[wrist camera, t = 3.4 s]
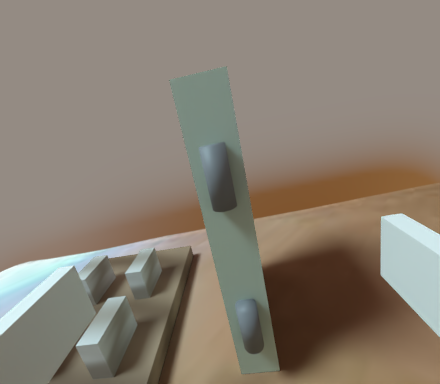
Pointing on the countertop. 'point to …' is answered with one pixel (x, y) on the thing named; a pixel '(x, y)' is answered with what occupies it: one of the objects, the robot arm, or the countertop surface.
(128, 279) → the hinge base
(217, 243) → the door
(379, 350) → the countertop surface
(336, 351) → the countertop surface
